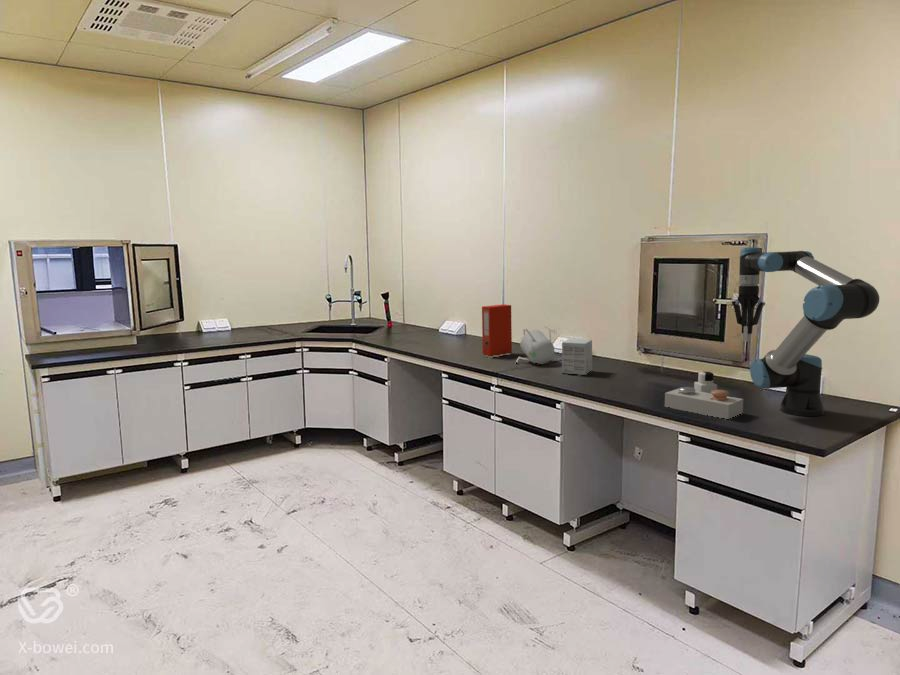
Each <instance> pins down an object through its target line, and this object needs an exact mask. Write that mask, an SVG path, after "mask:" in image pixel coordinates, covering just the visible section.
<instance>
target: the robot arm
mask: <svg viewBox="0 0 900 675" xmlns="http://www.w3.org/2000/svg"><path fill="white" fill-rule="evenodd" d="M761 250H762V249H761V247H756V246H755V247H753V246H752V247H741V249H740V255H739V273H738V274H739V275H738V278H739V280H738V284H739V286H738V296H737V299H735V300H734V301H731V304H732V306H733V307H734V308H733V309H734V314H735V318H736V319H735V320H736V324H737V325H740V326H741V334H743V337H742V338H743V339H742V342H745V343H748V342H750V341H751V334H753V326H756V325H758V324H759V320H760V317H761V313H762V311H763V308H764V306H765V305H766V302H765V301H764V302H763V301H761V299H760V297H759V295H760V294H759V293H760V286H759V284H760V273H761V272H765V273H774V272H786V271H787V272H789V271H790V272H794V273H795V274H798V275H799V276H801V277H803V278H804V279H806V280H808V281H809V282H812V283H813V284H816V285H817V286H815V287H813V288H811V289H810V290H809V291H808V292H807V293H806V294H805V296H804V298H803V302H804V303H802V310H803V316H802V318H801V319H800V320H799V321H798V322H797V324H796V325H795V326H794V327H793V328H792V329H791V331H790V332H789V333H788V335H786V337H785V338H784V339H783V340H782V341H781V343H780V344H779V345H778V346H777V347H776V349H772V350H769V351H768V352H767V353H766V354H765V355H764V357H763V358H756V359H754V360H752V361H751V363H750V365H749V371H750V372H749V374H750V378H751V381H752V382H753V384H754V385H755V386H756V387H757V388H759V389H778V388H779V389H781V388H785V393H784V395H783V397H782V400H781V402H780V404H779V405H780V406H779V407H780V408H779V409H780V411H781V412H783V413H786V414H789V415H793V416H800V417H801V416H802V417H819V416H820V417H821V416H823V415H824V414H825V406H824V402H823V400H822V395H821V387H822V386H821V384H822V380H821V379H822V371H823V367H822V365H823V363H822V362H823V361H822V358H821V357H819V356H816V355H811V354H807V353H808V352H809V351H810V350H811V349H812V347H813V346H814V345H815V344H816V343H817V342H818V341H819V340H820V338H821V337H822V336H823V335H824V334H825V333H826V332H827V331H831V330H835V328H837V327H838V326H839V325H840V324H841V323H842V322H843V321H844V320H849V319H850V320H851V319H852V320H853V319H863V318H865V317H869V316H870V315H871V314H873V313H874V312H875V311H876V310H877V308H878V307H879V304H880V295H879V291H878V290H877V289H876V288H875V287H874V286H873V285H872V284H870V283H869V282H868V281H865V280H863V279H860V278H852V277H851V276H848V275H846V274H844V273H842V272H840V271H838V270H836V269H834V268H832V267H831V266H828V265H826V264H825V263H822V262H820V261H818V260H817V259H815V257H814V255H813V254H812V252H810V251H808V250H807V251H806V250H797V251H774V252H773V251H767V252H764V251H763V252H762V251H761ZM756 305H757V306H756ZM755 307H756V309H755Z"/></svg>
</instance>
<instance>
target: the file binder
mask: <svg viewBox="0 0 900 675" xmlns="http://www.w3.org/2000/svg"><path fill="white" fill-rule="evenodd" d="M481 320H482V321H481V323H482V324H481V331H482V333H481V334H482V335H481V336H482V337H481V338H482V355H483V354H484V355H488V356H493V355H500V354H506V353H512V354H513V349H512V348H513V347H512V346H513V345H512V344H513V343H512V339H513V338H512V337H513V336H512V333H513V332H512V305H510V304H504V303H503V304H494V305H493V304H492V305H486V306H485V305H484V306H481Z"/></svg>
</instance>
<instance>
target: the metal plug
mask: <svg viewBox="0 0 900 675" xmlns="http://www.w3.org/2000/svg"><path fill="white" fill-rule="evenodd" d="M678 389H679V391H680V392H681V394H685V395H693V394H694V392H695V388H694V387H690V386H680V387H679V388H678Z"/></svg>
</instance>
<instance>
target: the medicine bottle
mask: <svg viewBox="0 0 900 675" xmlns="http://www.w3.org/2000/svg"><path fill="white" fill-rule="evenodd" d="M697 378H698V380H697V381H694V383H693V385H694V386H693V388H695V391H700V392H706V393H711V391H712V390H718V384H716V383H714V373H713V372H711V371H700V372H698V377H697Z"/></svg>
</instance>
